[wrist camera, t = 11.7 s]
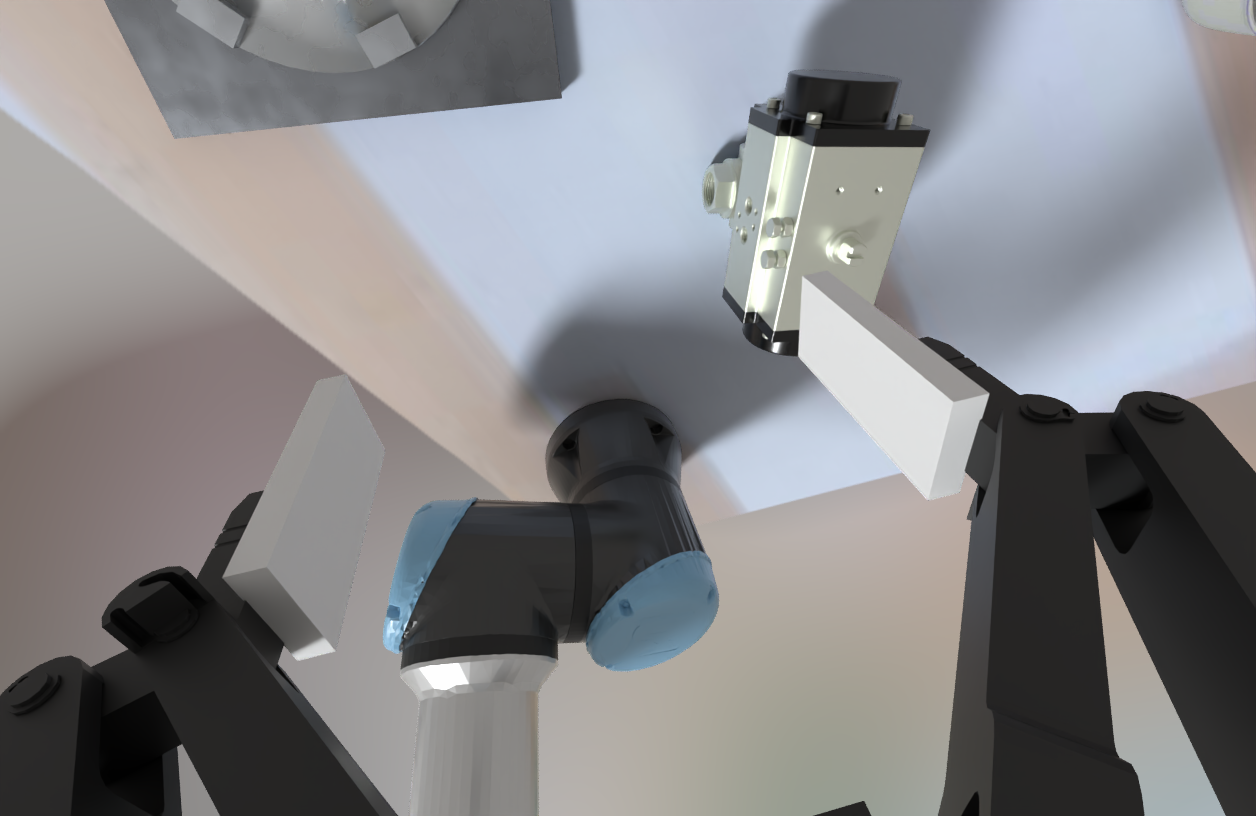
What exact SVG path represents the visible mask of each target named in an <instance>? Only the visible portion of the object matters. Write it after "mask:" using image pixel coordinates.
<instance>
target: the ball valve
mask: <svg viewBox="0 0 1256 816" xmlns="http://www.w3.org/2000/svg"><path fill="white" fill-rule="evenodd" d="M901 83H902V81H901V80H900V79H898V78H895V77H891V76H885V75H878V74H869V73H859V72H848V71H832V70H794V71H790V72H789V73H788V78H787V83H786V89H785V94H784V100H783V104H780V103H781V99H778V98H769V99H768V102H767V104H755V106H754V107H751V109H750V116H749V122H748V129H747V136H746V142H745V143H742V144H740V149H739V156H738V158H727V159H725V160H724V161H723V163H714V164H712V165H711V166H709V167H708V168H707V170H706V172H705V175H704V179H703V186H702V198H703V204H704V207H705V210H706V212H707V213H708V214H720V216H721V217H722V218H723V219H729V227H730V228H731V229H732V236H731V242H730V249H729V256H728V262H727V269H726V276H725V282H724V289H723V296H722V297H723V299H724V300H725V301H726V302H727V304H728V305H729V306H730V308H731V309H732V310H733V312H734V313H735V314H736V315H737V317H738V318H739V319H740V321H741V322H742V323H744V324H743V334H744V336H745V337H746V339H747V340H748V341H749V342H751V343H752V344H753V345H755V346H757V347H759V348H761V349H763V350H765V351H768V352H771V353H775V354H779V355H785V356H798V349H799V330H800V311H801V292H802V276H804V275H809V274H813V273H818V272H822V271H829V272H830V273H831V274H833V275H834V276H835V277H836V278H838V279H839V280H840V281H842V282H843V283H844V284H846V285H847V286H848V287H850V288H851V289H852V290H854V291H855V292H856V293H858V294H859V295H860V296H862V297H863V298H864V299H866V300H867V301H868V302H869V303H871V304H872V305H873V306H874V303H875V300H876V296H877V293H878V290H879V287H880V284H881V281H882V278H883V275H884V272H885V269H886V266H887V262H888V259H889V256H890V253H891V250H892V247H893V244H894V241H895V238H896V235H897V231H898V228H899V225H900V222H901V219H902V216H903V213H904V210H905V207H906V204H907V200H908V197H909V194H910V191H911V188H912V185H913V182H914V179H915V176H916V173H917V169H918V166H919V163H920V160H921V157H922V154H923V151H924V148H925V145H926V142H927V139H928V135H929V132H930V130H929V129H926V128H923V127H919V126H916V125H912V121H913V117H914V116H913V115H911V114H899V115H898V118H897V120H896V119H892V115H893V111H894V108H895V104H896V100H897V97H898V93H899V90H900V87H901Z"/></svg>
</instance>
